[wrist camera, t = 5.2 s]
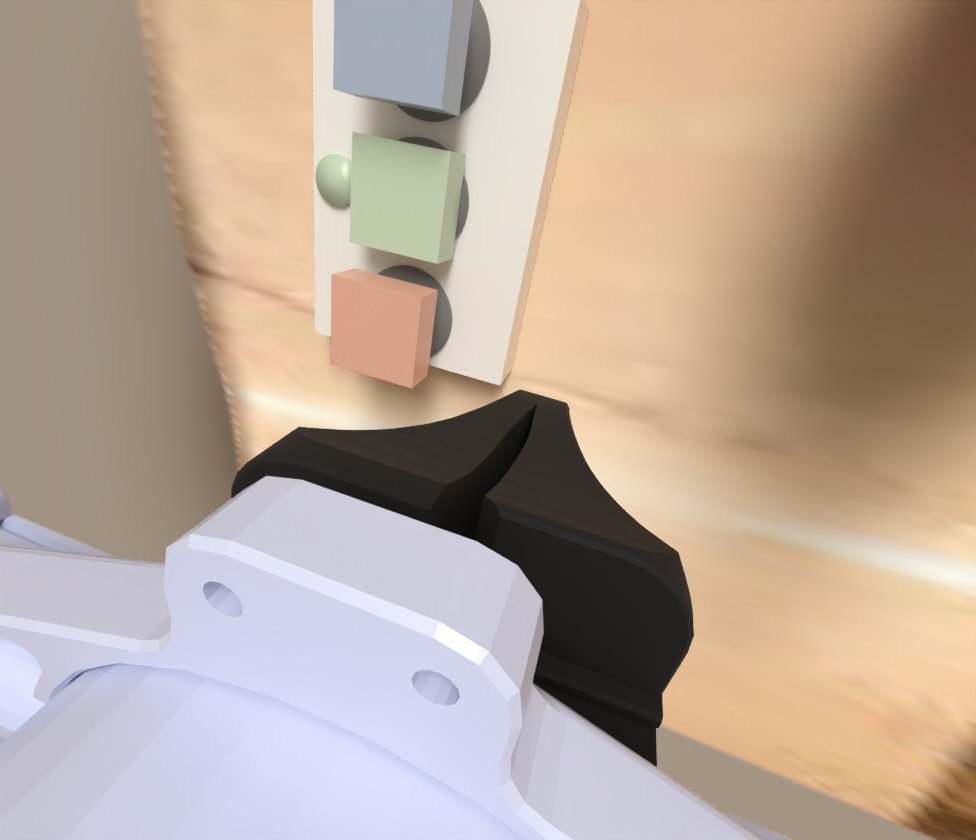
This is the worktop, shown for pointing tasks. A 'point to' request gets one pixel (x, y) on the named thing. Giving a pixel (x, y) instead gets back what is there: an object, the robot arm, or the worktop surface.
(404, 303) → the terracotta button
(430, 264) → the console
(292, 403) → the worktop surface
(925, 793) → the worktop surface
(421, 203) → the sage button
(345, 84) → the slate button
